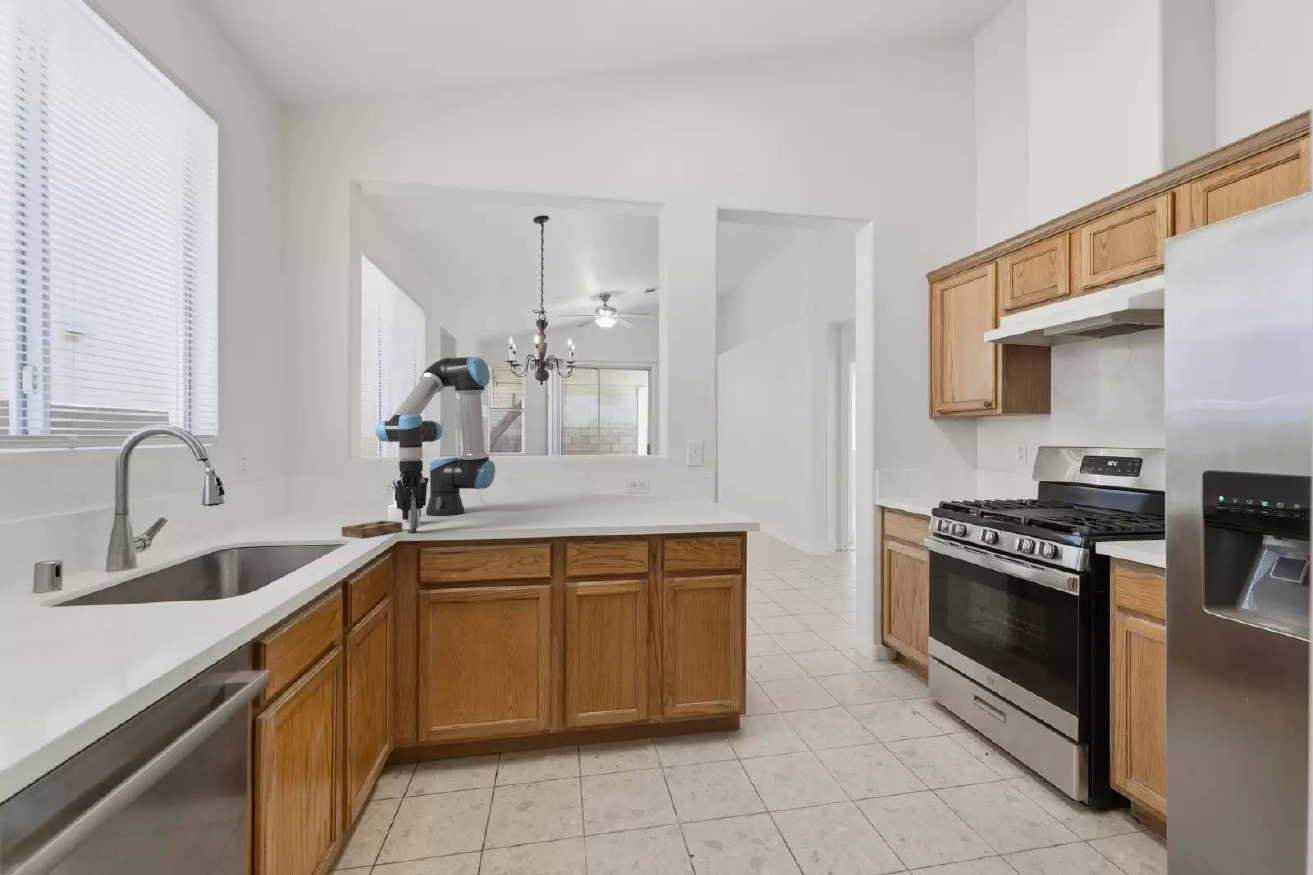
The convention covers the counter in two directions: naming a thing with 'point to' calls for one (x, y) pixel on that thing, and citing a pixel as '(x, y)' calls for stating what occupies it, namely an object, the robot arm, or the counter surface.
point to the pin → (413, 515)
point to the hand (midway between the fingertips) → (411, 528)
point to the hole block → (371, 529)
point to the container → (395, 511)
